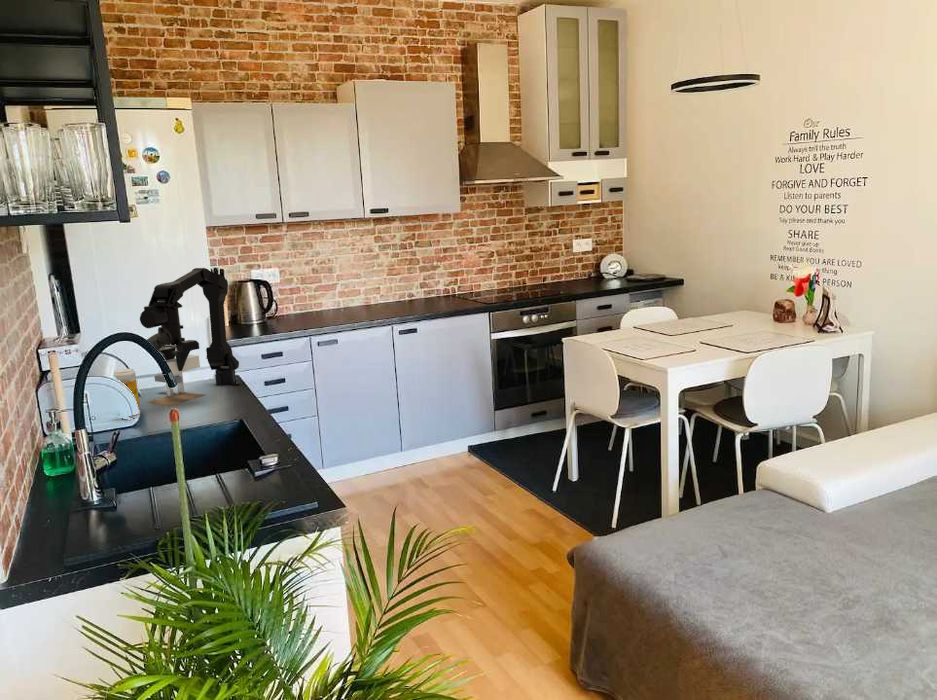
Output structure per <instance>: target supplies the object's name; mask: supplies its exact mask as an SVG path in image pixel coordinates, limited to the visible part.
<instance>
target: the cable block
mask: <svg viewBox="0 0 937 700" xmlns="http://www.w3.org/2000/svg"><path fill="white" fill-rule="evenodd" d="M166 362H167V363H168V365H169V367H170V369H171V371H172V373H173V374H175V373H179V372H182V373H183V372H186V371H191V370H195V369H199V368H200V367H201V362H200V355H198V354H189V355H188V357H187V359H186V362H185V364H184V367H183V370H182V371H179V370H178V366H177V361H176V357H175V359H170V360H166ZM160 372H161V373H160V374H162V371H160Z"/></svg>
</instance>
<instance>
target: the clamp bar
mask: <svg viewBox="0 0 937 700" xmlns="http://www.w3.org/2000/svg"><path fill="white" fill-rule="evenodd" d="M163 375H164V374H162V373H159V374H156V375H154V377H153V378H154V382H157V383H165V384H166V381H165V379H164V376H163ZM174 377H175V380H176V382H177V384H178V383H181V382H182V376H174ZM177 384H176V385H177Z"/></svg>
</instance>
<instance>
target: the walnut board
mask: <svg viewBox="0 0 937 700" xmlns="http://www.w3.org/2000/svg"><path fill="white" fill-rule="evenodd" d="M184 392H185V391H184ZM204 396H206V394H201V393H194V392H185V393H182V394H179V393H178V392H176V393H174V396H172V397H168V396H163V397H159V398H157V399H153V400H149V401H146V402H145V404H150V405H158V406H166V407H171V406H175V405H177V404H182V403H184V402H188V401H190V400H195V399H198V398H201V397H204Z"/></svg>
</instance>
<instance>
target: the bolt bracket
mask: <svg viewBox="0 0 937 700" xmlns="http://www.w3.org/2000/svg"><path fill="white" fill-rule="evenodd" d="M173 375H174V376H182V382H181V383H178V384H176V385H178V386H176V387H177V393H179V394H182V393H185V385H184V383H185V382H184V378H183V377H184V376H183V372H179V373H175V374H173ZM165 389H166V395H167V396H168V397H172V396H174V394H175V392H174V388H173V389H171V388H169V387H168V385H167V383H165Z"/></svg>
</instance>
